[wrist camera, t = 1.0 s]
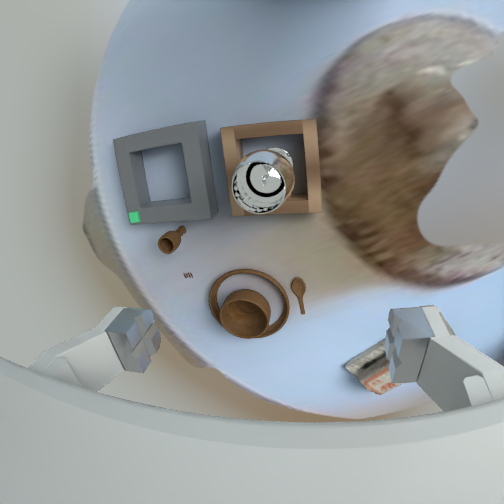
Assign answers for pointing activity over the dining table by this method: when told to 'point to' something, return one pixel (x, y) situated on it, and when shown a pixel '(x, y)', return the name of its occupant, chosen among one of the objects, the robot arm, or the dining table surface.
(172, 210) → the frame
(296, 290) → the place setting
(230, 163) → the wooden square frame
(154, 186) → the dining table surface
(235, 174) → the wineglass
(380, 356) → the packaged product
